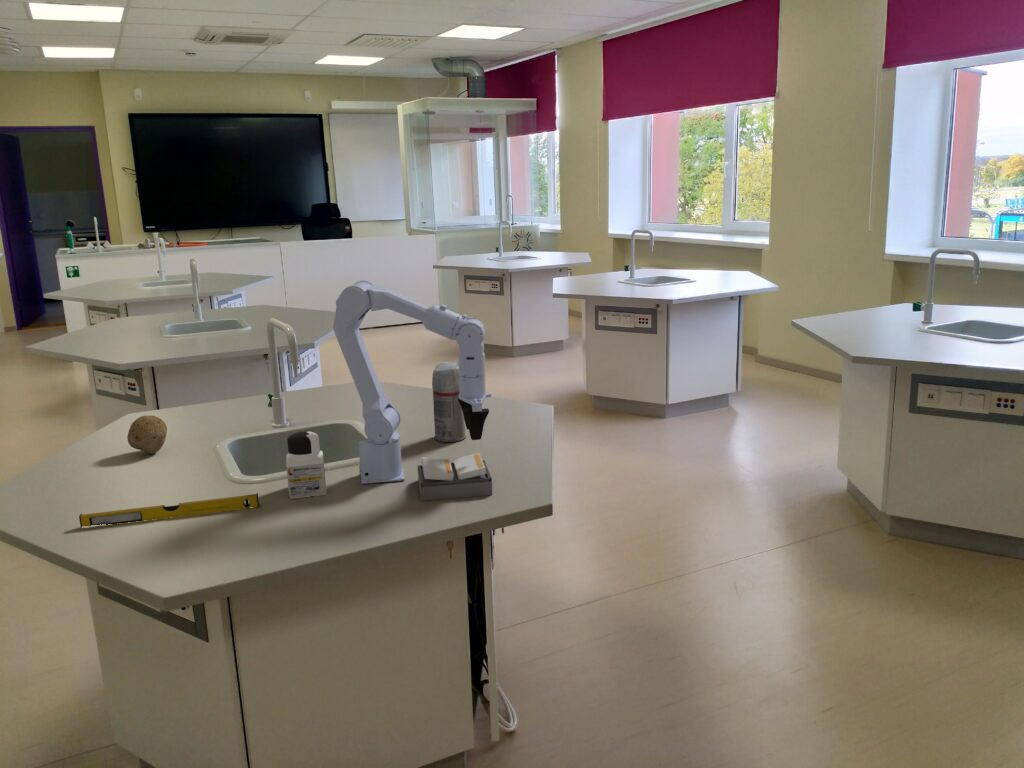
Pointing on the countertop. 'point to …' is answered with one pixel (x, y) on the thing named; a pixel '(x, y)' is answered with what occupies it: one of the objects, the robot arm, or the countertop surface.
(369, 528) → the countertop surface
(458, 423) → the spray can
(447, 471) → the panel
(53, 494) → the countertop surface
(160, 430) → the brown potato
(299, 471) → the container
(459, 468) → the rocker right
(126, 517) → the spirit level
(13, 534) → the countertop surface
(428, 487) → the grey divided tray
